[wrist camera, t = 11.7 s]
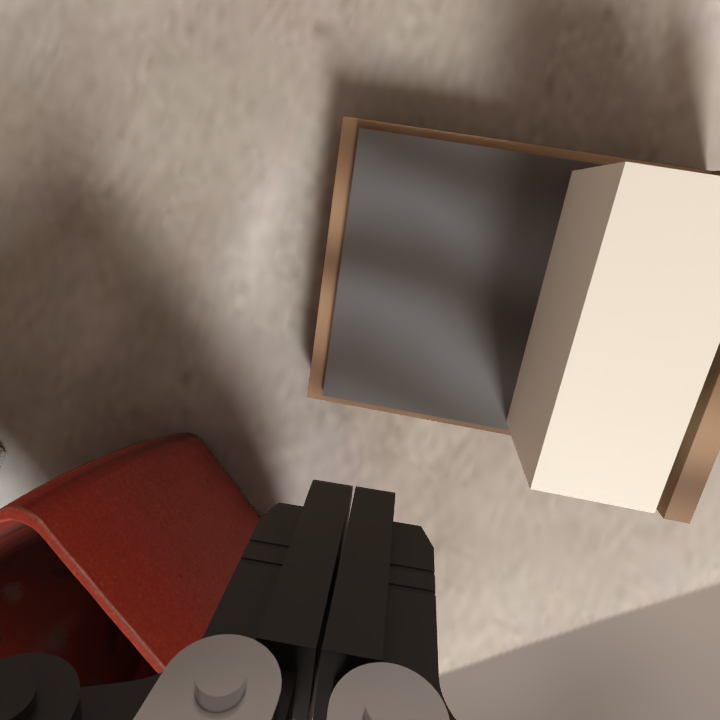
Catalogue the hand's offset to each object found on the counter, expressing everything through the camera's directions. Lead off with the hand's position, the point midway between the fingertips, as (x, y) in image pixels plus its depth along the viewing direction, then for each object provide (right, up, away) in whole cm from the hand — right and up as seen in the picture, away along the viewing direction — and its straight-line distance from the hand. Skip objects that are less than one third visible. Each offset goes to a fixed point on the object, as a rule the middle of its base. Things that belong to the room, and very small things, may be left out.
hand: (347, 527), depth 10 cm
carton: (+9, +5, +16) cm, 19 cm away
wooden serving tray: (+8, +7, +23) cm, 25 cm away
